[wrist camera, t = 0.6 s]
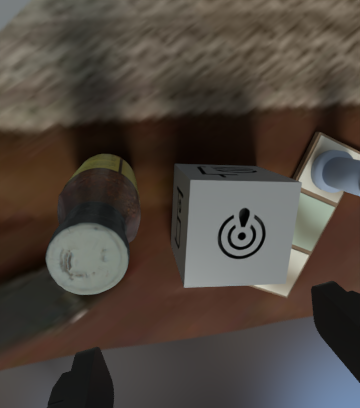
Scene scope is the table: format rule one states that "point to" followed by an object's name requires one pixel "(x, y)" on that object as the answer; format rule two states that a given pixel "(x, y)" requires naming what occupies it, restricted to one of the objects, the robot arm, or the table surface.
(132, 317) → the table surface
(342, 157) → the pawn
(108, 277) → the sauce bottle
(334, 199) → the board
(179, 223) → the icon cube
